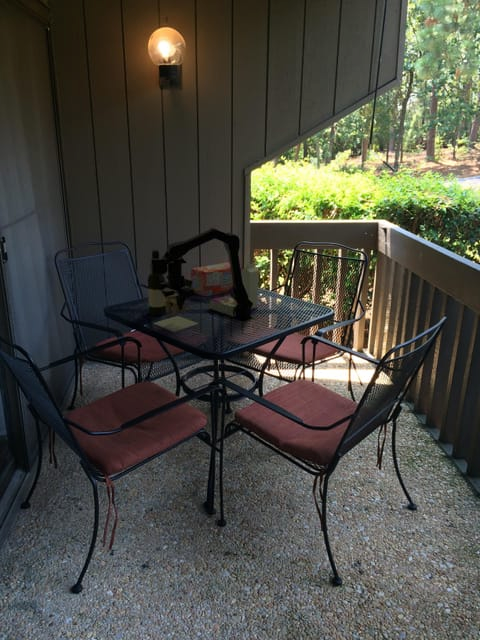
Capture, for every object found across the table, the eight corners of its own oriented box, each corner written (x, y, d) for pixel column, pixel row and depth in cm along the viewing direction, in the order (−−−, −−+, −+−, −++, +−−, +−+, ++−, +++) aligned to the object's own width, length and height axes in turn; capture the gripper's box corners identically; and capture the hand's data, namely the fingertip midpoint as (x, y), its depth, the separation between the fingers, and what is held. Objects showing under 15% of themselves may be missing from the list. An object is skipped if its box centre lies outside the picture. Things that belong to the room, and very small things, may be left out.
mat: (198, 324, 219) (198, 323, 219) (174, 332, 209) (174, 331, 209) (177, 317, 228) (177, 315, 228) (153, 324, 218) (153, 322, 218)
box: (226, 284, 285) (226, 260, 281) (241, 288, 277) (242, 264, 272) (190, 292, 267) (189, 267, 262) (205, 297, 259) (205, 272, 254)
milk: (257, 307, 244) (259, 264, 237) (248, 310, 240) (250, 265, 233) (248, 304, 248) (250, 261, 241) (240, 307, 244) (241, 263, 237)
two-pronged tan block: (185, 312, 217) (185, 296, 215) (175, 315, 213) (174, 299, 210) (176, 309, 221) (176, 294, 218) (166, 312, 216) (165, 296, 214)
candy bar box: (225, 295, 246) (250, 302, 236) (225, 304, 248) (249, 312, 237) (209, 299, 238) (233, 307, 228) (209, 309, 240) (233, 317, 230)
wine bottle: (162, 316, 228) (160, 252, 218) (145, 315, 230) (143, 251, 220) (168, 311, 236) (167, 248, 226) (152, 309, 237) (150, 247, 227)
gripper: (203, 274, 211) (204, 309, 216) (175, 266, 222) (175, 300, 228) (184, 278, 203) (184, 314, 208) (155, 270, 215) (156, 305, 220)
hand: (175, 308), depth 216 cm, fingers closed on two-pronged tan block, 6 cm apart
